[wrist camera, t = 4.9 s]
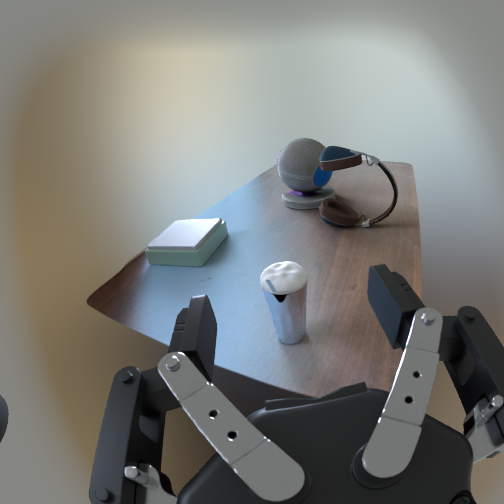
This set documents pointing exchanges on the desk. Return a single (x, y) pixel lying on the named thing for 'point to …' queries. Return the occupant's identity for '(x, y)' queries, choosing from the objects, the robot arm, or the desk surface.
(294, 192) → the webcam
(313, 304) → the desk surface
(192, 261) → the scale
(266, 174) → the desk surface
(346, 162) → the headphones
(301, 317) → the milkshake
